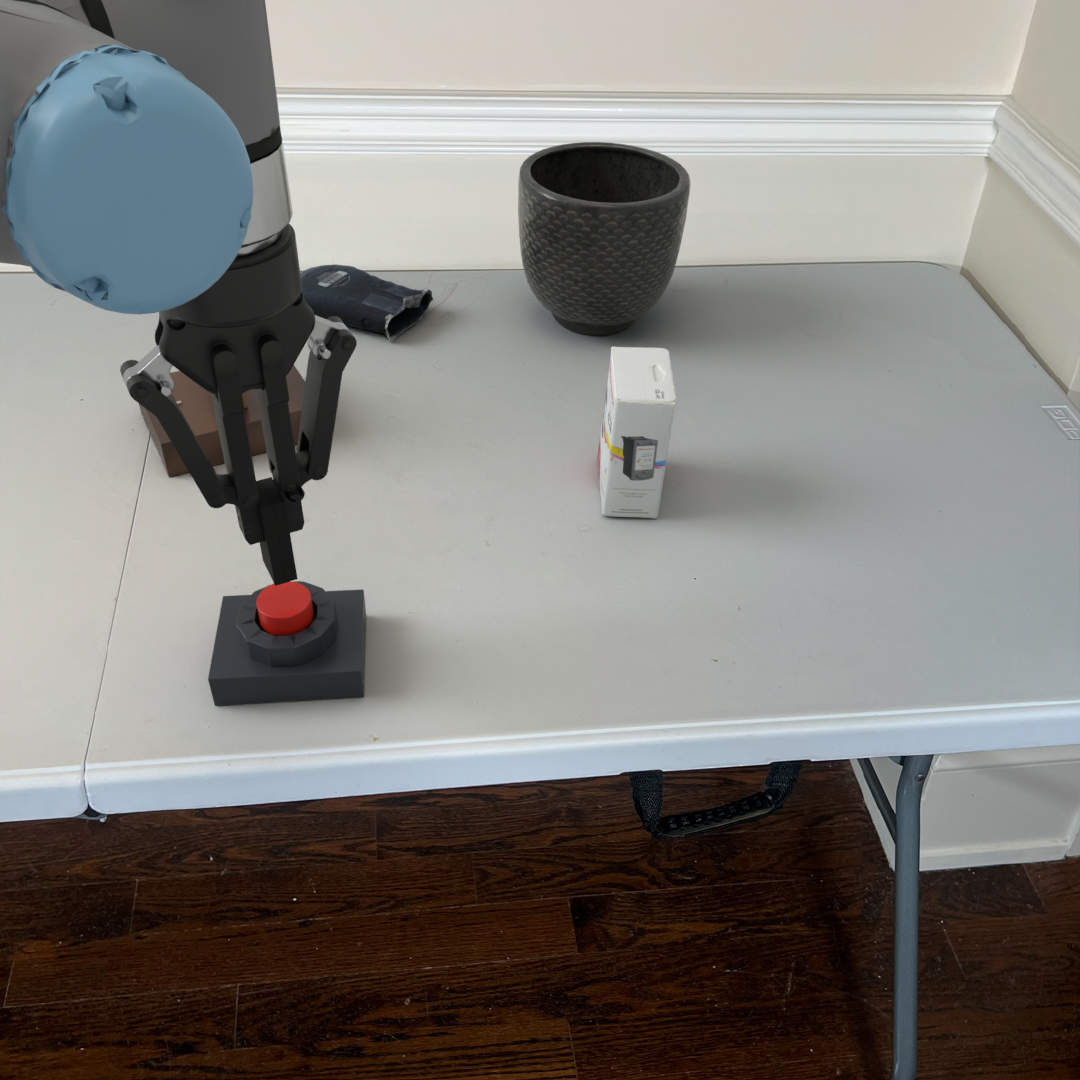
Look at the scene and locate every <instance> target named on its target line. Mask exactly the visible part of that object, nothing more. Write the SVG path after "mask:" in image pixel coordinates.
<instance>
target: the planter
mask: <svg viewBox="0 0 1080 1080" xmlns="http://www.w3.org/2000/svg"><path fill="white" fill-rule="evenodd" d="M517 181H518V182H517V183H518V185H517V186H518V187H517V191H518V192H517V193H518V195H517V196H518V197H517V199H518V200H517V219H518V236H519V247H520V256H521V263H522V266H523V271H524V276H525V278H526V281H527V284H528V286H529V288H530V290H531V292H532V294H533V295H534V297H535V298H536V299H537V300H538V302H539V303H540V305H542V306H543V307H544V308H545V309H546V310H547V311H548V312H550V313H551V315H552V316H553V318H554V320H555V321H556V322H557V323H558V325H560V326H562V327H563V328H565V329H567V330H568V331H571V332H573V333H577V334H581V335H586V336H609V335H614V334H619V333H621V332H623V331H625V330H627V329H628V328H630V327H631V326H632V325H633V324H634V323H635V321H636V320H637V319H638V318H640V317H641V316H643V315H644V314H646V313H647V312H649V311H650V310H651V309H652V308H653V307H654V306H655V305H656V304H657V303H658V302H659V301H660V299H661V298H662V296H663V295H664V293H665V292H666V290H667V288H668V287H669V284H670V282H671V279H672V277H673V274H674V272H675V268H676V265H677V261H678V257H679V253H680V250H681V245H682V241H683V236H684V230H685V226H686V221H687V215H688V214H687V212H688V205H689V199H690V193H691V178H690V174H689V173H688V170H686V168H685V167H684V166H683V165H682V164H681V163H679V162H678V161H677V160H676V159H673V158H671V157H670V156H668V155H665V154H663V153H661V152H658V151H655V150H653V149H649V148H645V147H640V146H637V145H630V144H625V143H616V142H606V141H605V142H603V141H601V142H600V141H583V142H570V143H564V144H559V145H554V146H553V145H552V146H550V147H546V148H543V149H540V150H539V151H536V152H534V153H532V154H531V155H529V156H528V157H527V158H526V159H525V160H524V161H523V162H522V163H521V165H520V167H519V173H518V180H517Z"/></svg>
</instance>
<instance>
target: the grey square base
mask: <svg viewBox="0 0 1080 1080" xmlns="http://www.w3.org/2000/svg"><path fill="white" fill-rule="evenodd" d="M293 582H297V583H300V584H302V585H304V586H305V587H306V588H307V589H308V590H309V592H310V594H311V600H312V606H313V613H314V616H313V620H312V622H311V624H310V625H309V626H308V627H307V628H306V629H305V630H303V631H300V632H298V633H296V634H294V635H288V636H276V635H273V634H270V633H268V632H266V631H265V630H264V629H263V628H262V626H261V624H260V619H259V614H258V609H257V604H256V603H257V598H258V596H259V594H260V593H261V592H262V591H263V590H264V589H265V588H266V587H268V586H270V585H272V584H273V583H272V584H269V585H267V586H265V587H262V588H259V589H258V590H255V591H253V592H252V593H251V594H237V595H222V600H221V604H220V611H219V616H218V621H217V626H216V632H215V639H214V643H213V649H212V656H211V661H210V665H209V672H208V677H207V682H208V685H209V689H210V692H211V697H212V700H213V705H214V706H216V707H218V706H234V705H236V706H237V705H253V704H267V703H270V704H271V703H286V702H304V701H319V700H320V701H321V700H337V699H355V698H364V697H365V680H366V679H365V675H366V642H367V641H366V637H367V610H366V609H367V608H366V600H365V599H366V598H365V591H364V589H362V588H361V589H343V590H325V588H323V587H320V586H317V585H315V584H312V583H309V582H306V581H302V580H298V581H297V580H293Z"/></svg>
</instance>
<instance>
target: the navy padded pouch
mask: <svg viewBox="0 0 1080 1080" xmlns="http://www.w3.org/2000/svg"><path fill="white" fill-rule="evenodd" d="M300 275H301V282H302V291H303V297H304V299H305V301H306V302H307V304H308V305H309V306H310V307H311V309H312V310H313V312H314V315H316V316H319V317H321V318H324V319H327V318H329V317H331V316H336V317H338V318H340V319H341V320H342V322H343V323H344V324H345V326H348V327H353V328H357V329H361V330H367V331H369V332H375V333H380V334H384V335H385V336H386V337H387V339H388V342H389V343H392V342H394V340H396V339H397V338H398V337H399V336H400V335H401V334H403V333H404V332H405V331H407V330H408V329H410V328H411V327H413V326H414V325H416V324H417V323H419V322H420V321H421V320H422V319H423V318H424V316H425V313H426V311H427V310H428V308H429V307H430V305H431V302H433V301H434V298H433V292H432V290H431V289H429V288H424V289H413V288H409V287H407V286H404V285H401V284H397V283H394V282H392V281H390V280H385V279H382V278H380V277H378V276H376V275H372V274H370V273H368V272H367V271H364V270H362V269H359V268H357V267H355V266H352V265H342V264H337V263H336V264H323V265H316V266H313V267H310V268H307V269H305V270H303V271H300Z"/></svg>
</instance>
